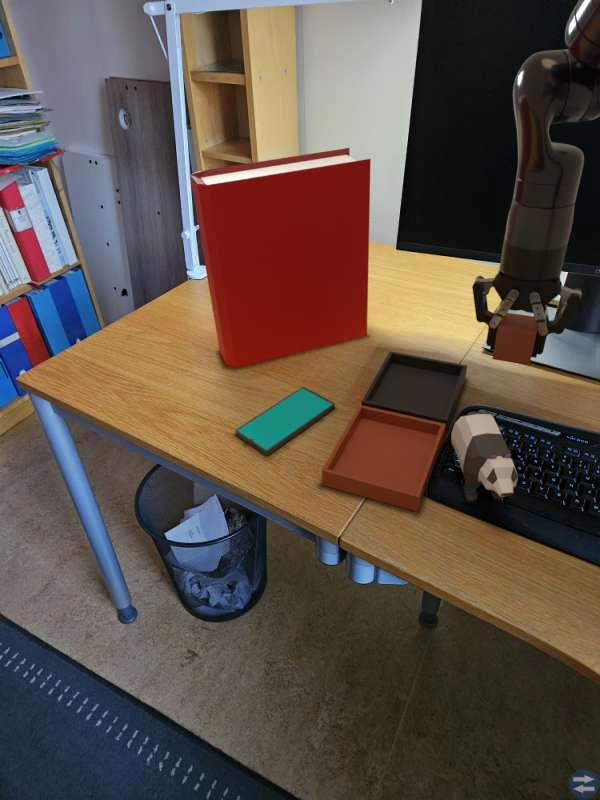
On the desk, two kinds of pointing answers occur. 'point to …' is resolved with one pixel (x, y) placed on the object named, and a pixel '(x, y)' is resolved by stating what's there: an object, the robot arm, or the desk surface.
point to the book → (285, 253)
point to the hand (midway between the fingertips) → (513, 350)
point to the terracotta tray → (385, 457)
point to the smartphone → (284, 420)
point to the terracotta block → (515, 339)
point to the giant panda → (483, 455)
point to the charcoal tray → (417, 387)
